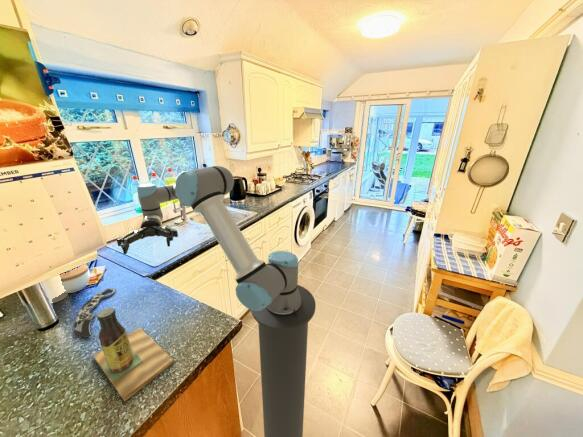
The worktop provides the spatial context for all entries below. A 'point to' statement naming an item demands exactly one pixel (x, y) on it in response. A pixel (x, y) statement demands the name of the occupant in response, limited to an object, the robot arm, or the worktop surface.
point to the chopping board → (137, 365)
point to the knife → (89, 313)
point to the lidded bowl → (75, 279)
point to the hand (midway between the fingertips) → (146, 246)
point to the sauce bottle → (114, 341)
